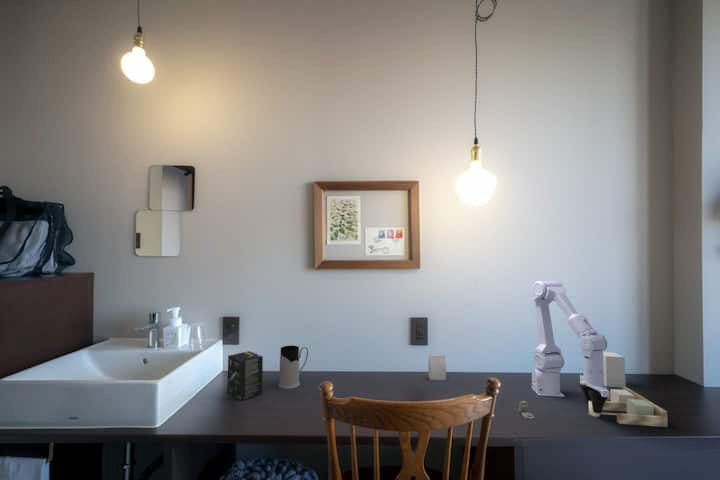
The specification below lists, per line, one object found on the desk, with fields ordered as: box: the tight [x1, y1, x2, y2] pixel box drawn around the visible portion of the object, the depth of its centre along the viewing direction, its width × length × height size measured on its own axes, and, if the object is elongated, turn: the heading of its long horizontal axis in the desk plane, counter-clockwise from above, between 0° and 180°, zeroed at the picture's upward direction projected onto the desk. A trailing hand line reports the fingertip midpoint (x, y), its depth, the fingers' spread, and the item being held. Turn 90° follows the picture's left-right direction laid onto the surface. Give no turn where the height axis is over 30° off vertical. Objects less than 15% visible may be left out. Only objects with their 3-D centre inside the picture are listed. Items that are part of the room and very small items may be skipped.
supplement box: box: [603, 351, 627, 389], centre depth 142 cm, size 7×7×13 cm
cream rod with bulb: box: [588, 399, 654, 418], centre depth 112 cm, size 18×5×5 cm, turn 82°
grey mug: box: [277, 345, 309, 390], centre depth 141 cm, size 9×14×15 cm, turn 139°
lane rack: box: [602, 386, 669, 428], centre depth 117 cm, size 14×20×5 cm
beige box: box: [427, 354, 447, 381], centre depth 147 cm, size 4×7×10 cm, turn 90°
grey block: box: [609, 388, 634, 402], centre depth 121 cm, size 5×5×5 cm
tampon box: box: [226, 350, 264, 402], centre depth 129 cm, size 11×9×15 cm
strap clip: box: [513, 400, 535, 420], centre depth 115 cm, size 8×3×4 cm, turn 3°
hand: (594, 410), depth 114 cm, fingers closed on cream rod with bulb, 3 cm apart
